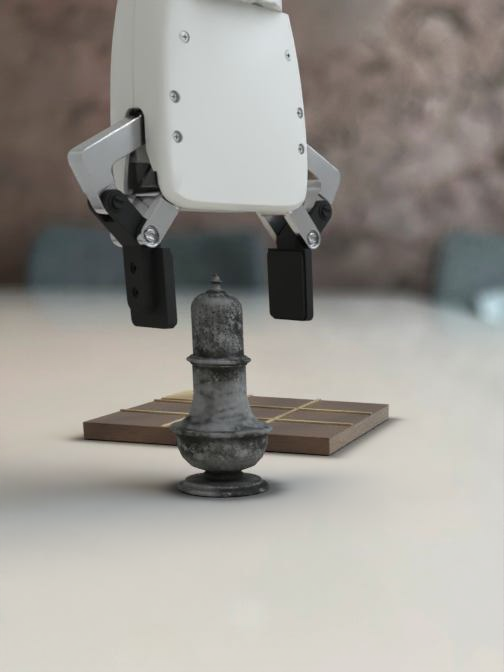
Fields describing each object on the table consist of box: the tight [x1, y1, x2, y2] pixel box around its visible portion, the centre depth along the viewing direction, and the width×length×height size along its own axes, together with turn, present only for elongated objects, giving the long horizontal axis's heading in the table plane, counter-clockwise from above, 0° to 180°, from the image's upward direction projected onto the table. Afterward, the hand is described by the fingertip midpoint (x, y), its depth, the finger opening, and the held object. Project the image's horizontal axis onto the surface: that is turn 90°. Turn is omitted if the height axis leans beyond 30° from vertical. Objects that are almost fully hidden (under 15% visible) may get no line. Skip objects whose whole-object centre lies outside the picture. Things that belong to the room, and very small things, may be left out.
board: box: [82, 389, 390, 456], centre depth 85 cm, size 18×18×1 cm
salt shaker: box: [169, 273, 273, 498], centre depth 63 cm, size 6×6×12 cm
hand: (226, 323), depth 62 cm, fingers open, 9 cm apart
